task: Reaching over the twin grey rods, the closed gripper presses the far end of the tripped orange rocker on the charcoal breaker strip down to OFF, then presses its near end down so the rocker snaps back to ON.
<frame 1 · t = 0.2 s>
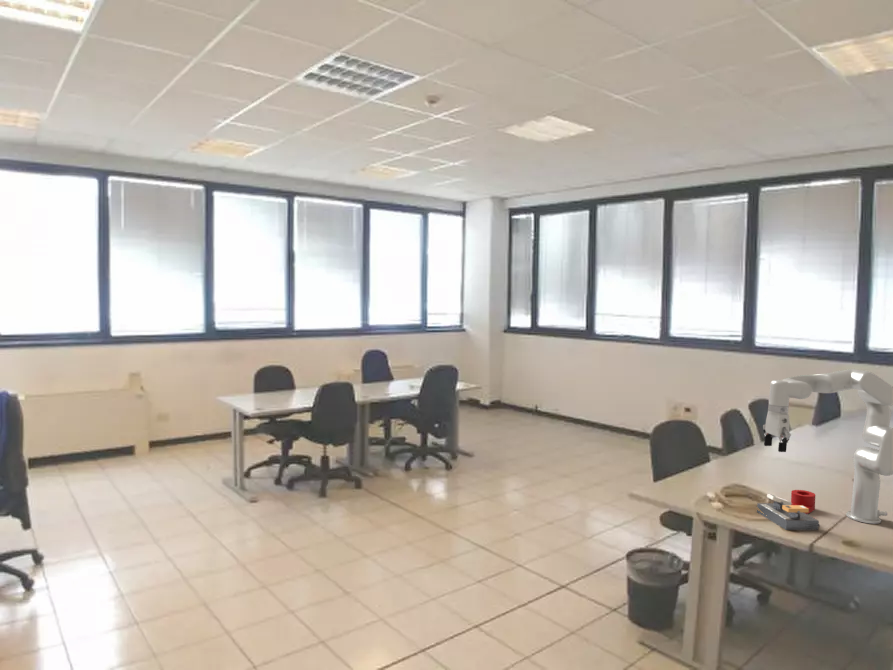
hand: (774, 448, 258), 31 cm above the table, fingers open, 9 cm apart
twin grey rods: (807, 520, 259), on the table
breaker lever: (795, 509, 253), point 7 cm above the table, hinge at 0.0°
lever: (801, 510, 271), on the table, touching twin grey rods
breaker strip: (786, 520, 258), on the table
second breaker: (778, 500, 264), point 7 cm above the table, hinge at -18.0°
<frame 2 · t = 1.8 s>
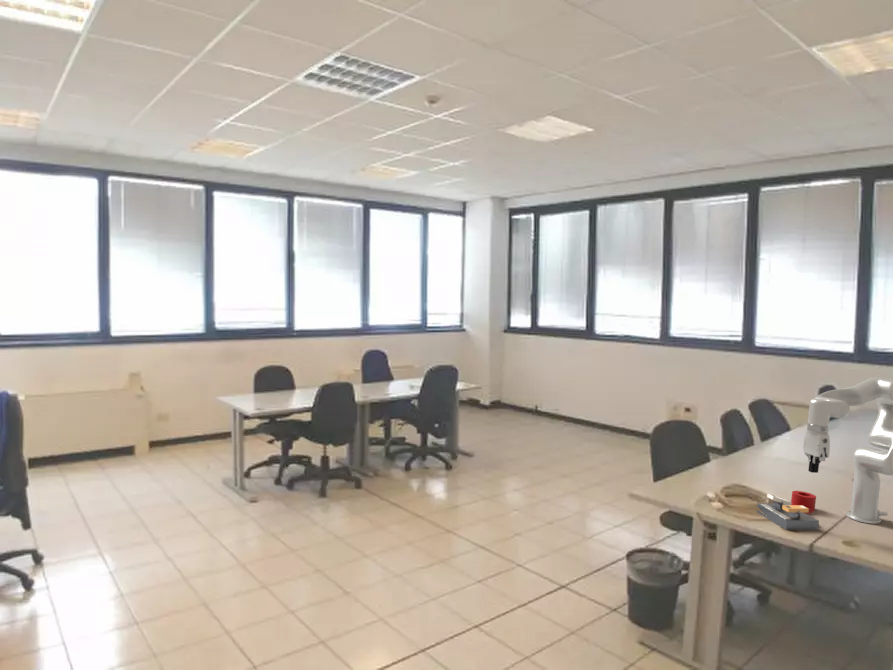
hand: (813, 471, 252), 23 cm above the table, fingers closed
lever: (801, 511, 271), on the table, touching twin grey rods
everything else where it was.
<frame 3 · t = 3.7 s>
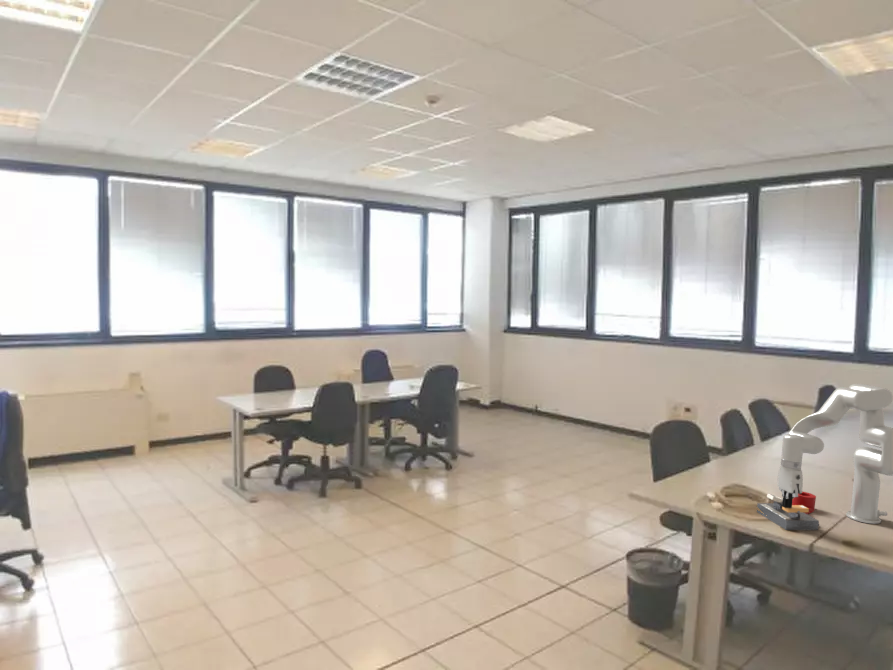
hand: (786, 507, 252), 8 cm above the table, fingers closed
breaker lever: (795, 509, 253), point 7 cm above the table, hinge at 0.9°, touching gripper
everything else where it was.
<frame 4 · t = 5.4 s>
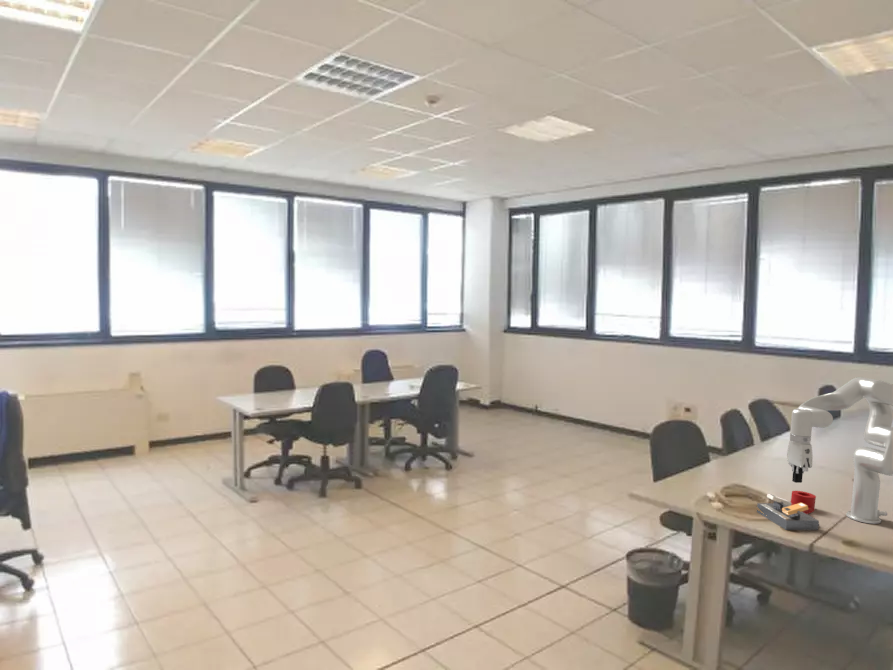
hand: (797, 481, 252), 19 cm above the table, fingers closed
breaker lever: (795, 509, 253), point 7 cm above the table, hinge at 17.0°
everything else where it was.
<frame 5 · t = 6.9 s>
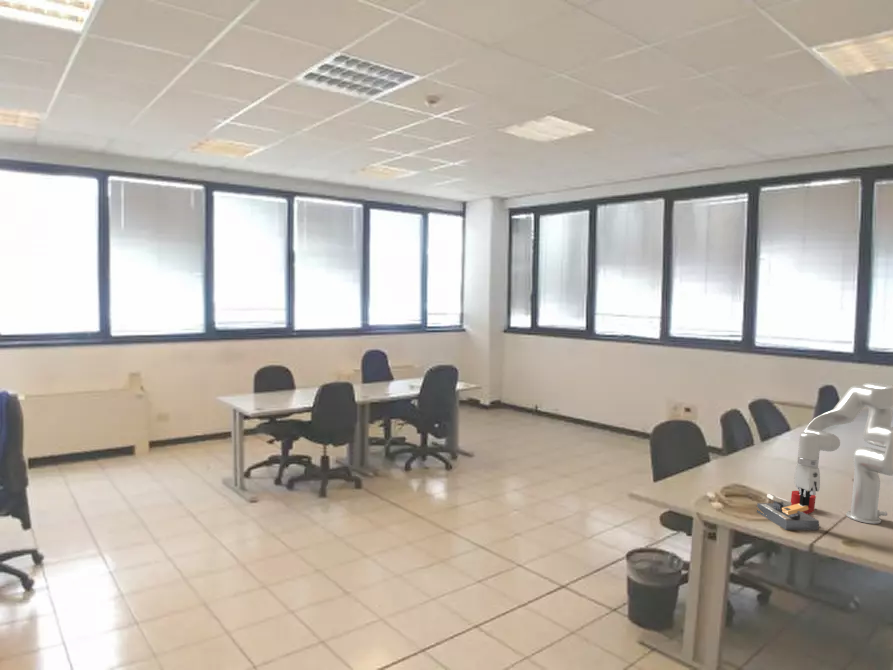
hand: (804, 505, 253), 9 cm above the table, fingers closed
breaker lever: (795, 509, 253), point 7 cm above the table, hinge at 15.4°, touching gripper
everything else where it was.
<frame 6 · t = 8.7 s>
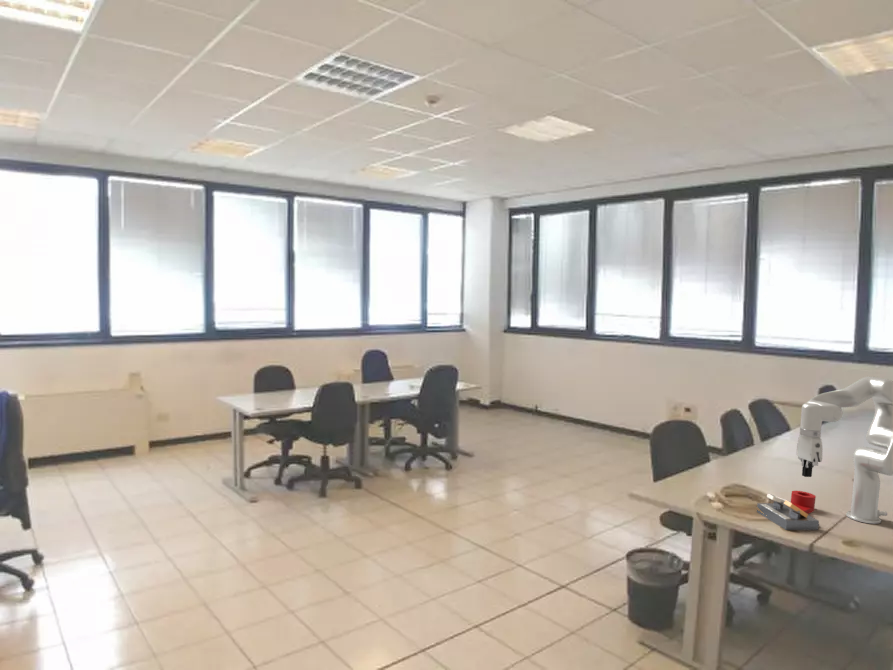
hand: (806, 476, 252), 21 cm above the table, fingers closed
breaker lever: (795, 509, 253), point 7 cm above the table, hinge at -31.1°
everything else where it was.
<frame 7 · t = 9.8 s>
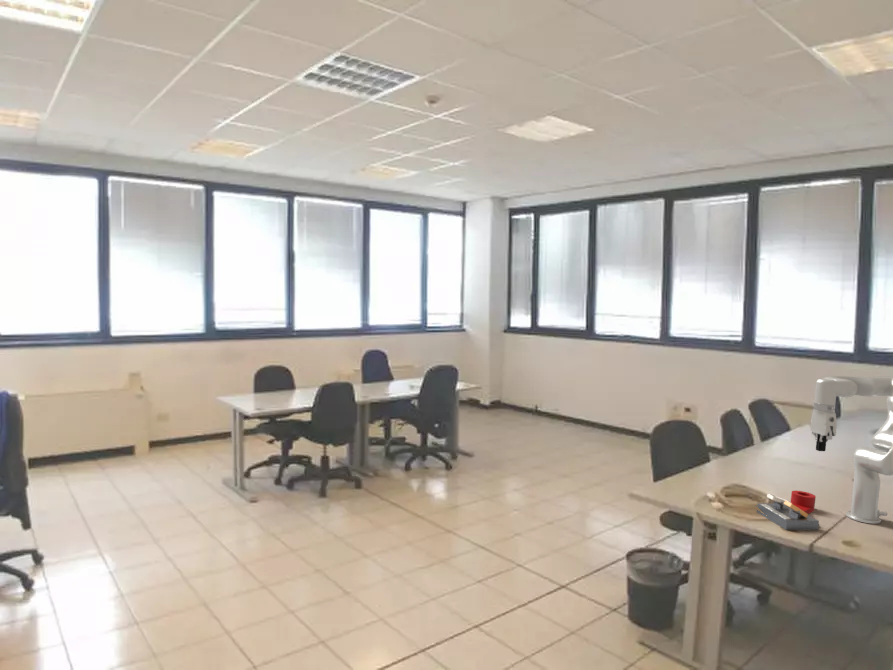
hand: (820, 450, 256), 31 cm above the table, fingers closed
breaker lever: (795, 509, 253), point 7 cm above the table, hinge at -30.4°
everything else where it was.
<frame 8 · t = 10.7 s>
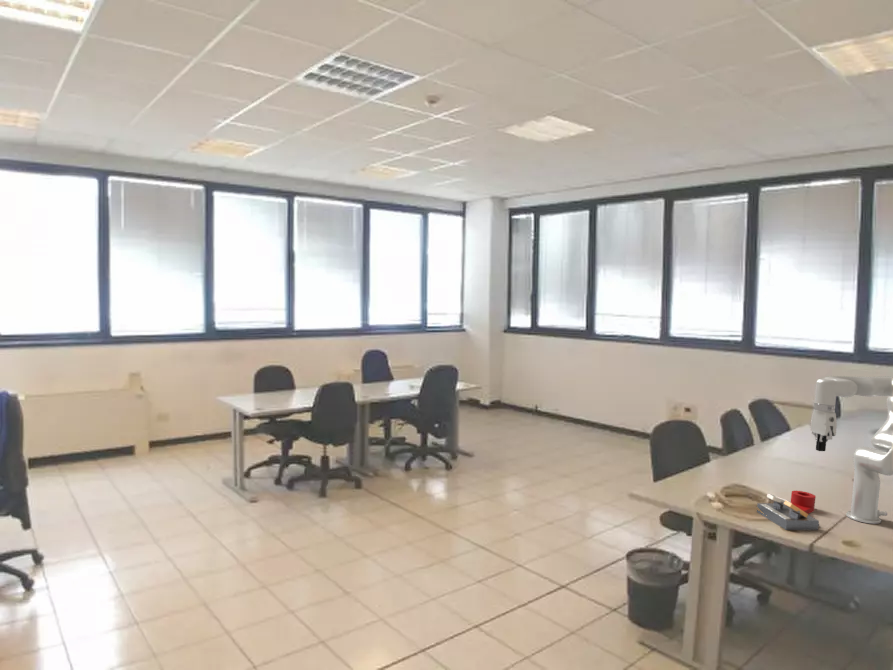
hand: (820, 450, 256), 31 cm above the table, fingers closed
nothing on the table moved.
at the end: breaker lever at -30° (first picture: +0°); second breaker at -18° (first picture: -18°) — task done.
